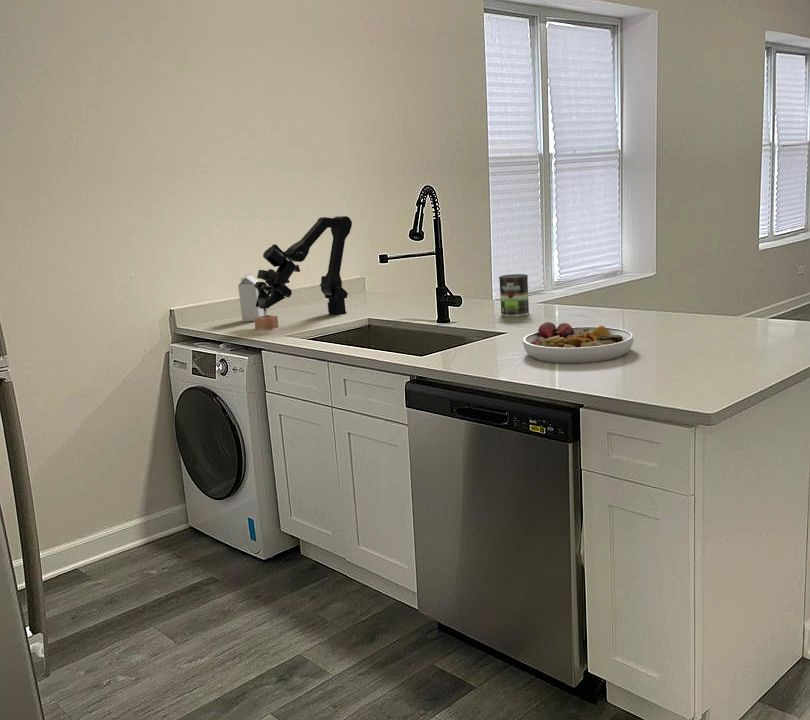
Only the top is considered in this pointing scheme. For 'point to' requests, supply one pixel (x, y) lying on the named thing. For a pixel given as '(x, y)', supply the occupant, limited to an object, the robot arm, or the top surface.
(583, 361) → the bowl
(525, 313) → the coffee can
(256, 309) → the milk carton
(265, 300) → the plunger
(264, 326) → the reddish brown block
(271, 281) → the robot arm
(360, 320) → the top surface
